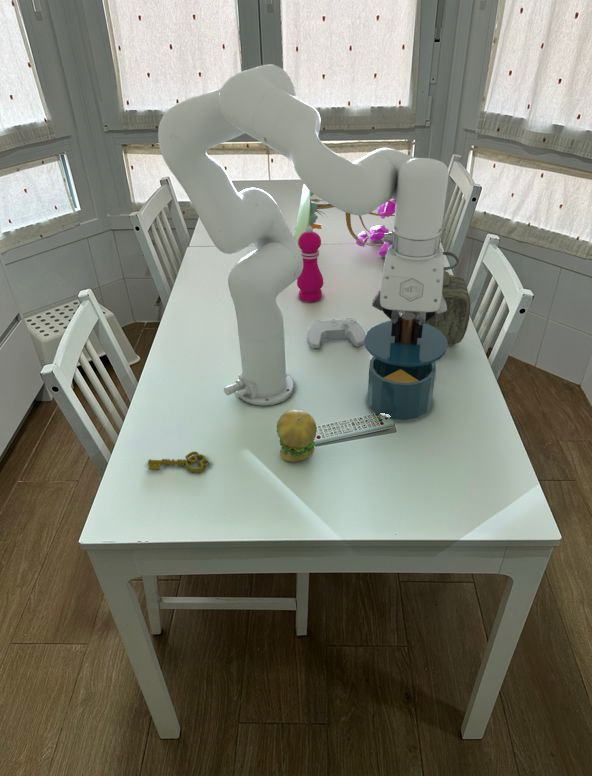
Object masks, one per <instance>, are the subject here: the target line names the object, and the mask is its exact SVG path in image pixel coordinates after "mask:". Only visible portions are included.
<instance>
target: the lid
mask: <svg viewBox="0 0 592 776" xmlns="http://www.w3.org/2000/svg"><path fill="white" fill-rule="evenodd" d="M400 317H401V319H400V332H399V342H397V343H394V342H395V336H391V331H392V322H391V320H387V321H382V322H379V323H377V324H376V325H374V326H372V327H370V328H369V329H368V331H367V332H365V339H364V344H363V345H364V347H365V349H366V351H367V352H368V353H369V355H371V356H372V357H373V356H374V357H375V358H377V359H378V360H381V361H383V362H386V363H389V364H392V365H397V366H408V367H411V366H422V365H427V364H430V363H433V362H434V363H435V362H437V361H439V360H440V359H441V358H443V357H444V356H445V354H446V353H447V350H448V346H449V345H448V343H447V339H446V337H445V336H444V334H443V333H442V332H441V331H439V330H438V329H436V328H435V327H433V326H431V325H428V324H426V323H425V324H424V325H423V330H422V338H418V339H417V345H415V344H413V337H414V328H415V320H416V316H415V314H413V313H408V312H407V313H403V312H402V313H401V314H400Z"/></svg>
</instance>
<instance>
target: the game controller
mask: <svg viewBox="0 0 592 776" xmlns="http://www.w3.org/2000/svg"><path fill="white" fill-rule="evenodd" d="M365 335H366V332H365V329H364V328H363V326H362V325H361V324H360V322H359V321H358V320H357V319H354V318H351V317H346V318H342V319H336V318H332V319H326V320H324V319H323V320H322V319H316V320H314V321H312V322H311V324H310V325H309V327H308V329H307V332H306V342H307V344H308V346H309V347H310V348H311V349H320V348H321V343H322V342H323V341H325V340H326V341H327V340H328V341H329V340H345V339H347V340H349V341H350V342H351V343H352V344H353V345H354V346H355V347H361V346H364V345H365V344H364V339H365Z"/></svg>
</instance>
